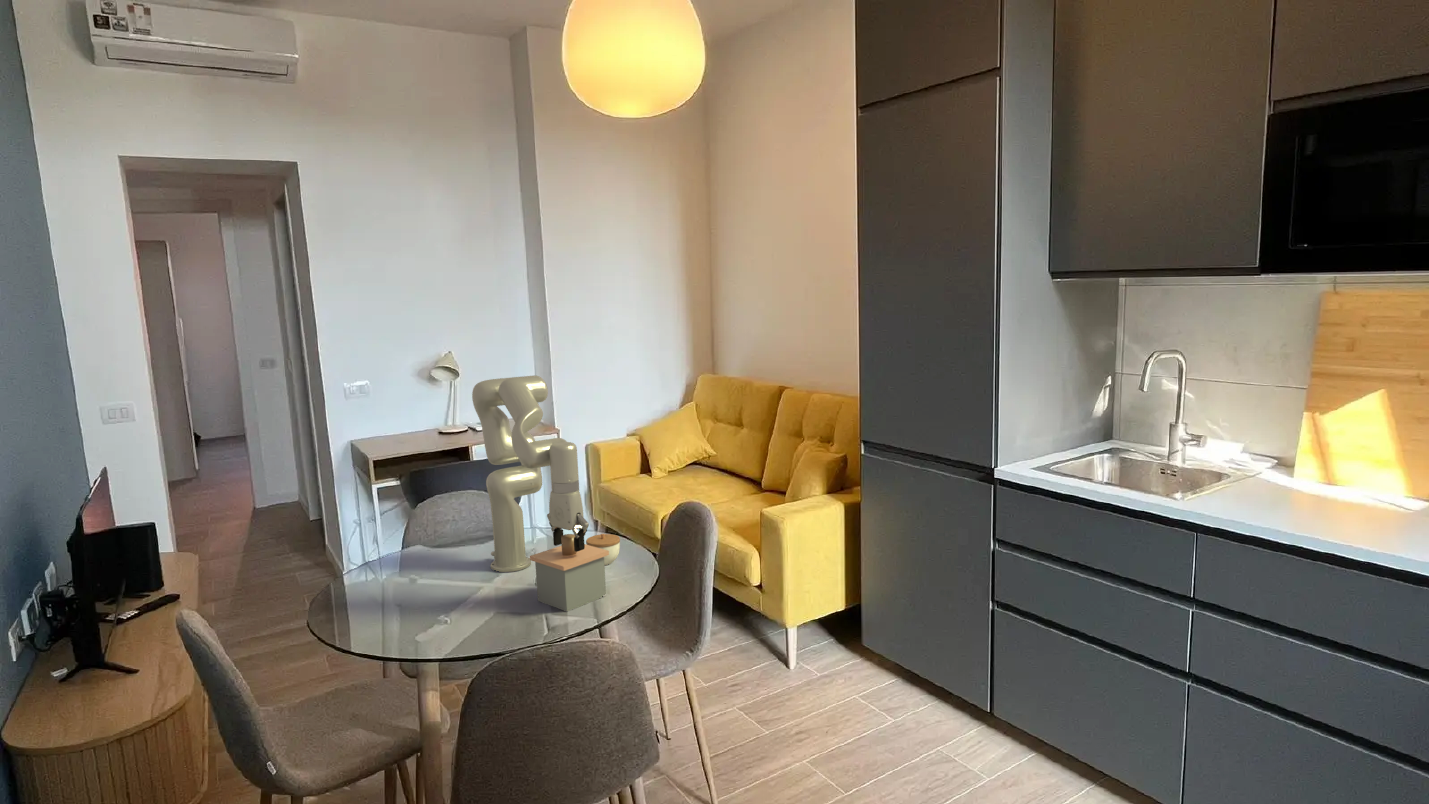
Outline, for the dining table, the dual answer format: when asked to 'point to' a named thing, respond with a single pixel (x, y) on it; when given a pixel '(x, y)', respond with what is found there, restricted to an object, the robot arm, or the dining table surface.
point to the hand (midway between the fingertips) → (569, 547)
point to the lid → (568, 554)
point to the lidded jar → (606, 545)
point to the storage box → (571, 584)
